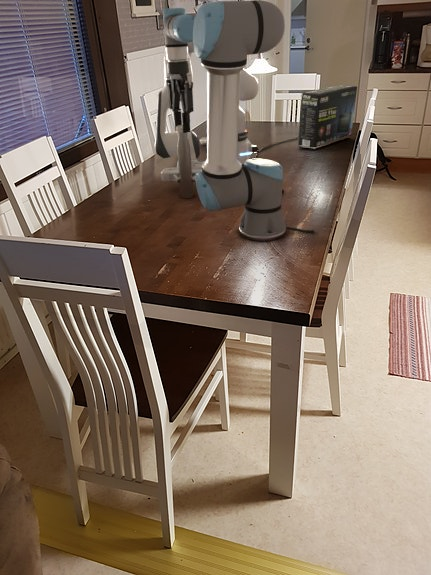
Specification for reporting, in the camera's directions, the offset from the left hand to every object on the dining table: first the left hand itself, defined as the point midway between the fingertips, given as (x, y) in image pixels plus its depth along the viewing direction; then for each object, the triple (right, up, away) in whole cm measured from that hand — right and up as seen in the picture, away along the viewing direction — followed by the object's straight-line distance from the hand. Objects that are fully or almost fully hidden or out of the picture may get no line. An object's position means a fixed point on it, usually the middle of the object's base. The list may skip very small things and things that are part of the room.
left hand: (186, 180), depth 178 cm
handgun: (+33, 0, +11) cm, 35 cm away
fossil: (+12, +37, +73) cm, 83 cm away
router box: (+70, +35, +67) cm, 103 cm away
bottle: (0, -5, +4) cm, 7 cm away
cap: (-1, +17, -10) cm, 20 cm away
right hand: (-1, +16, -9) cm, 18 cm away
